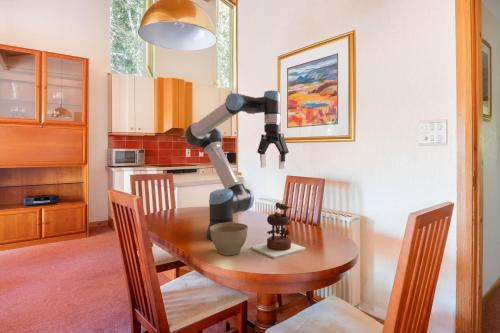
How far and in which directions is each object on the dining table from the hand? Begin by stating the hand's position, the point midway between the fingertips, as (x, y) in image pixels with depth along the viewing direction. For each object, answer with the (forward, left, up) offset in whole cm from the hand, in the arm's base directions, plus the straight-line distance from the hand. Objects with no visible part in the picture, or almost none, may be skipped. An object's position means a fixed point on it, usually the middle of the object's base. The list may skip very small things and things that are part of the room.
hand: (272, 168), depth 144 cm
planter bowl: (+3, -27, -35) cm, 44 cm away
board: (+13, -8, -35) cm, 38 cm away
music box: (+13, -8, -34) cm, 37 cm away
